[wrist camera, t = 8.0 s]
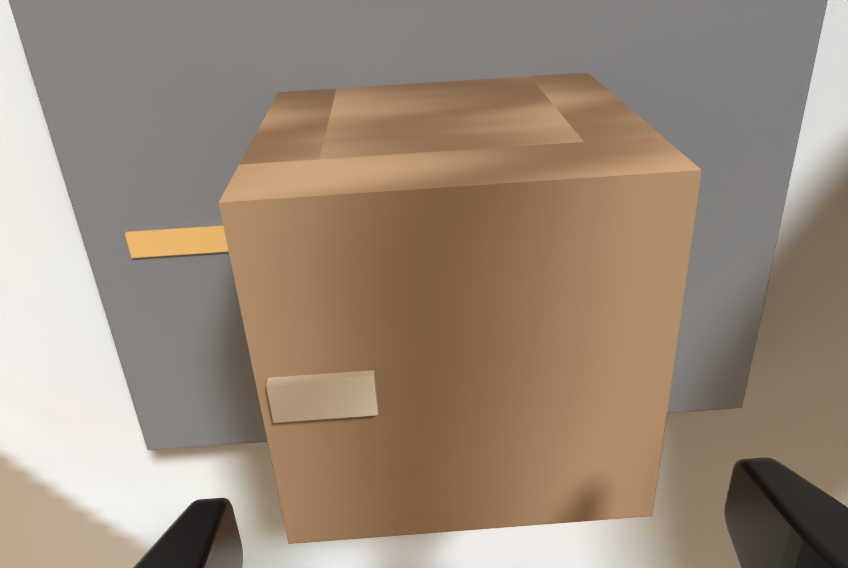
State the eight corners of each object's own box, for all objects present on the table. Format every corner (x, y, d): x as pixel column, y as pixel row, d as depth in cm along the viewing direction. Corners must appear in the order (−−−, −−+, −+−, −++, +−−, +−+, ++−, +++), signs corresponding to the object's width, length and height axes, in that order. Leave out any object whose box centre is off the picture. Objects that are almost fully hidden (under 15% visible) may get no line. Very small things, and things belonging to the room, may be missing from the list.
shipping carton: (587, 72, 15) (707, 175, 9) (572, 332, 18) (655, 524, 12) (278, 92, 15) (215, 208, 9) (316, 350, 18) (287, 553, 12)
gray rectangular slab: (806, -95, 15) (850, -94, 13) (718, 374, 20) (743, 410, 19) (30, -51, 14) (-8, -46, 13) (163, 413, 20) (146, 452, 19)
